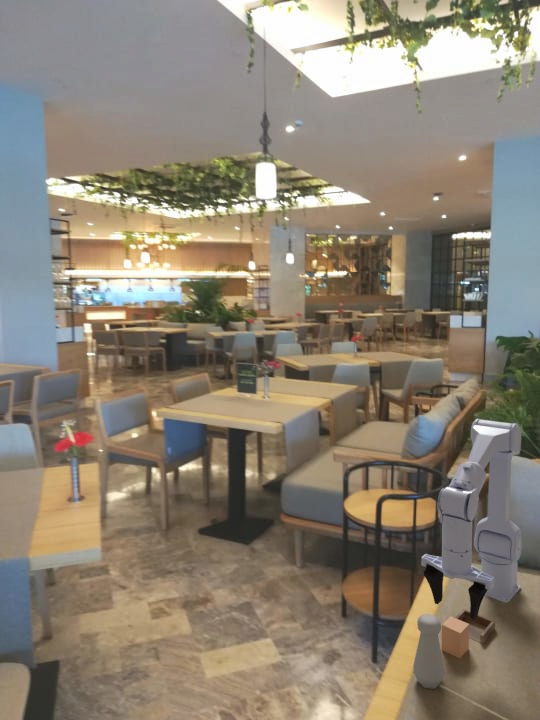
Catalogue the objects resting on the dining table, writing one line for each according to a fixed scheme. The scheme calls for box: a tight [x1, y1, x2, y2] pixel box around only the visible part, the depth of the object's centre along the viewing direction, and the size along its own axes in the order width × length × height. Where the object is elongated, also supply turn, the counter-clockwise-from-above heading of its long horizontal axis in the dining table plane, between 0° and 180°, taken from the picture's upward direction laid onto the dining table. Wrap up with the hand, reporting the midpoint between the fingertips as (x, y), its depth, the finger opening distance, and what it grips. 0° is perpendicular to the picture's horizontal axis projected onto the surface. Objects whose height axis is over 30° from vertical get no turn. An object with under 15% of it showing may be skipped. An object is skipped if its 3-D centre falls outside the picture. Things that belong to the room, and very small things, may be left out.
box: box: [454, 608, 496, 644], centre depth 116 cm, size 6×7×2 cm
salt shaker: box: [412, 613, 446, 690], centre depth 101 cm, size 6×6×13 cm
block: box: [441, 615, 470, 659], centre depth 110 cm, size 4×4×6 cm
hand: (455, 608), depth 109 cm, fingers open, 7 cm apart
